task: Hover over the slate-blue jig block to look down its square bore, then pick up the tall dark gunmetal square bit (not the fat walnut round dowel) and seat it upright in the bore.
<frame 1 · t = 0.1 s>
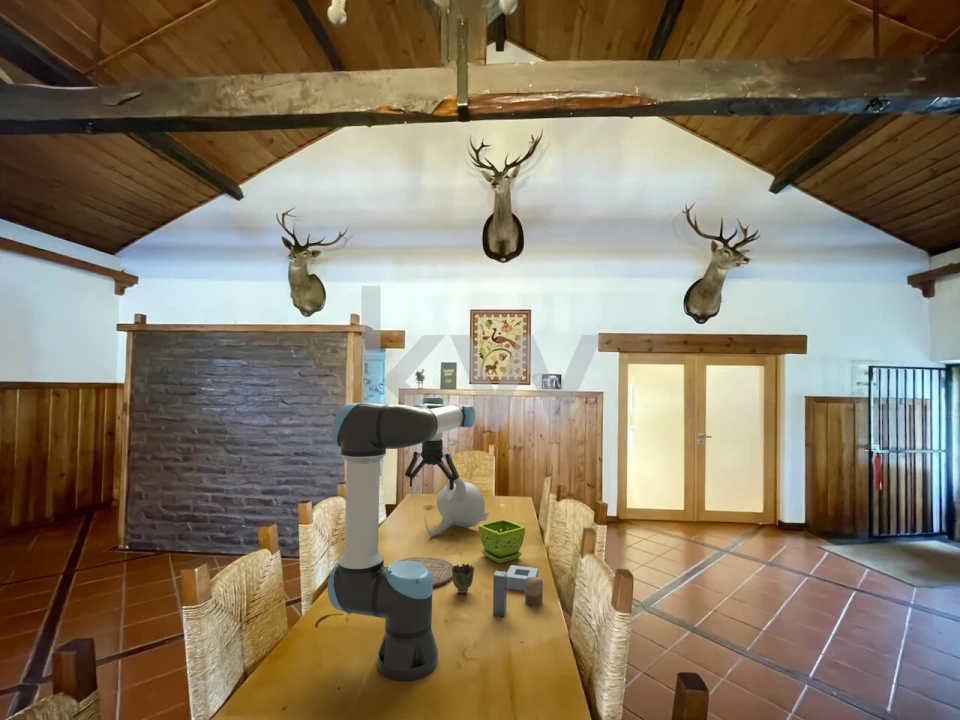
hand: (431, 497, 168), 28 cm above the table, fingers open, 13 cm apart
trivet: (420, 575, 168), on the table
ornate candle holder: (462, 592, 154), on the table
square bit: (499, 613, 141), on the table
flower pot: (501, 558, 185), on the table
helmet: (458, 531, 216), on the table
bore block: (521, 583, 161), on the table
round dowel: (533, 602, 148), on the table
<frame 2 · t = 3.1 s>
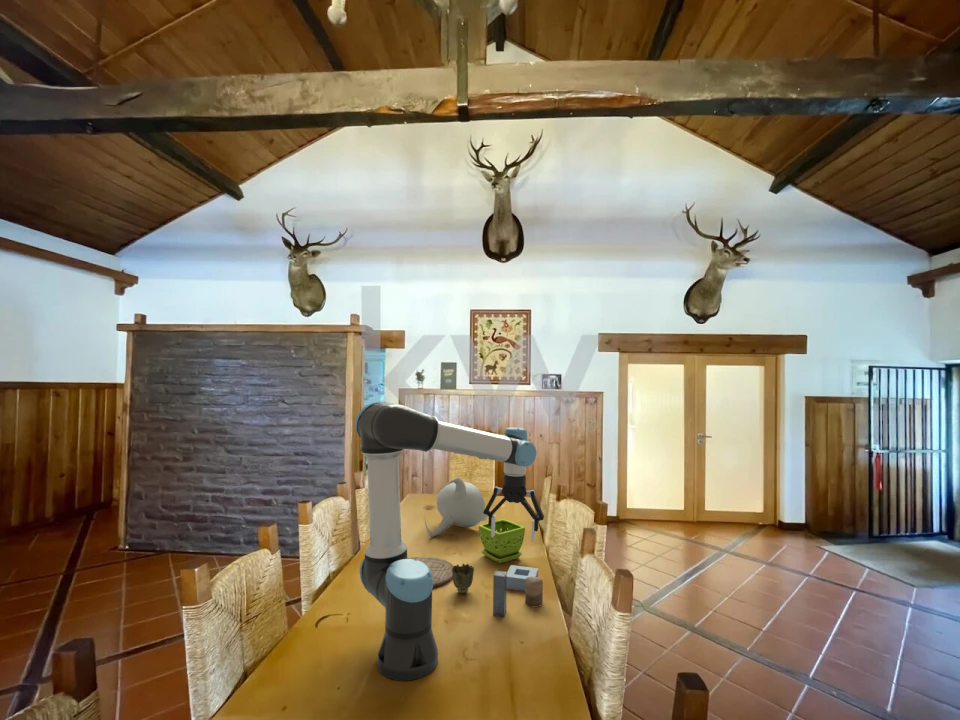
hand: (512, 538, 154), 18 cm above the table, fingers open, 13 cm apart
nothing on the table moved.
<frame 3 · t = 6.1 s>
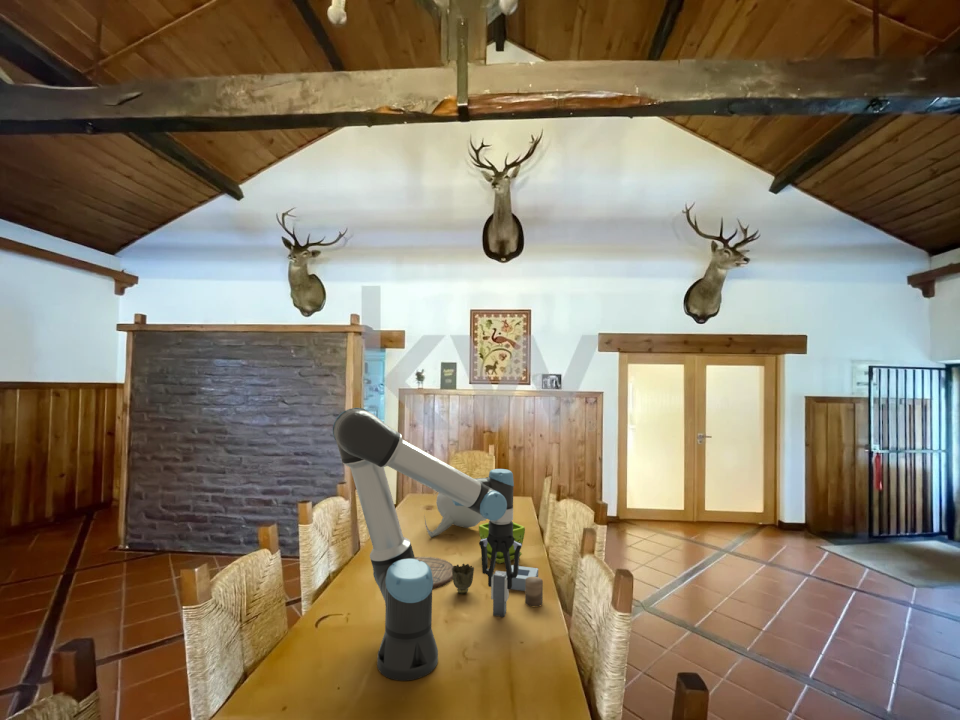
hand: (499, 598, 141), 5 cm above the table, fingers closed on square bit, 3 cm apart
square bit: (499, 613, 141), on the table, touching gripper
everything else where it was.
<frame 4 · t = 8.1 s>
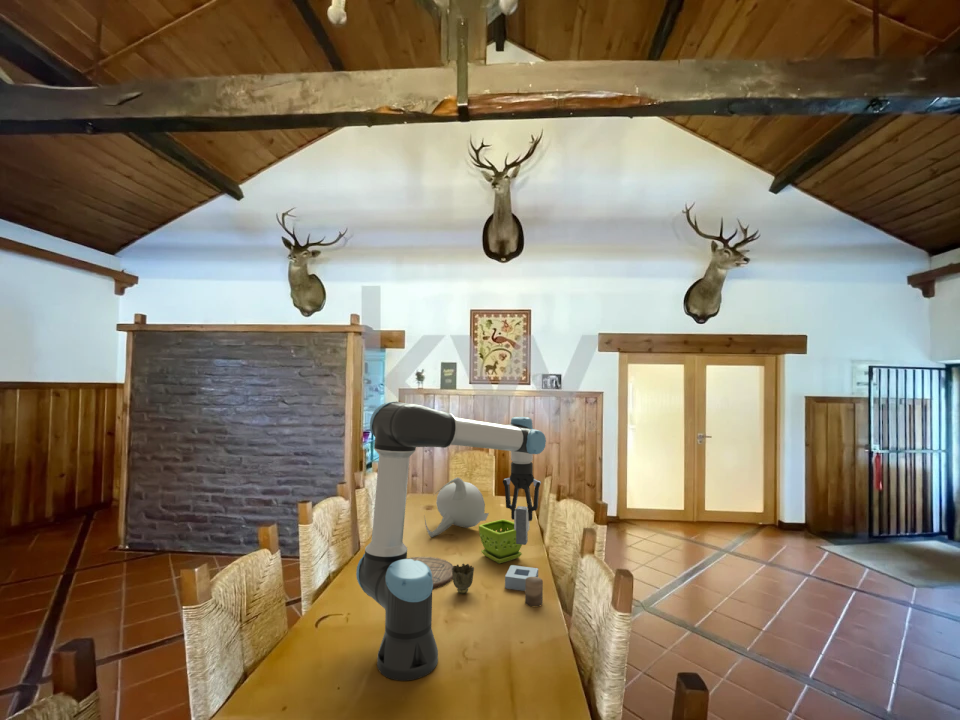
hand: (521, 529, 160), 19 cm above the table, fingers closed on square bit, 3 cm apart
square bit: (521, 542, 160), point 15 cm above the table, touching gripper
everything else where it was.
when the fingers open (6 cm above the table, at t = 10.4 s): square bit drops 1 cm, resting on bore block.
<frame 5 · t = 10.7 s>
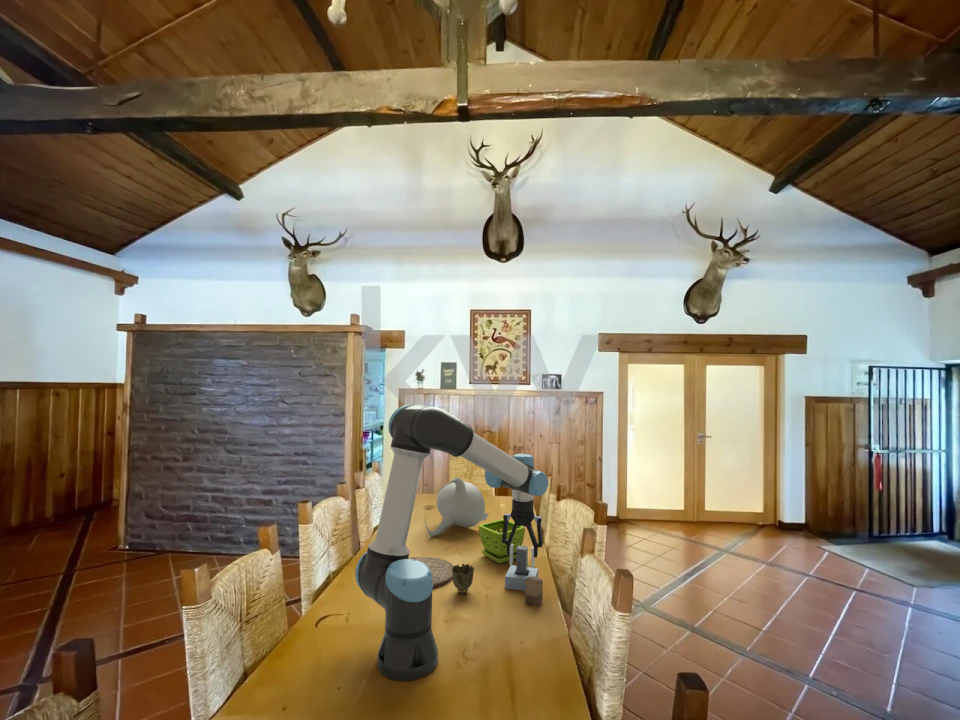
hand: (522, 564, 162), 7 cm above the table, fingers open, 7 cm apart
square bit: (521, 582, 161), resting on bore block
everything else where it was.
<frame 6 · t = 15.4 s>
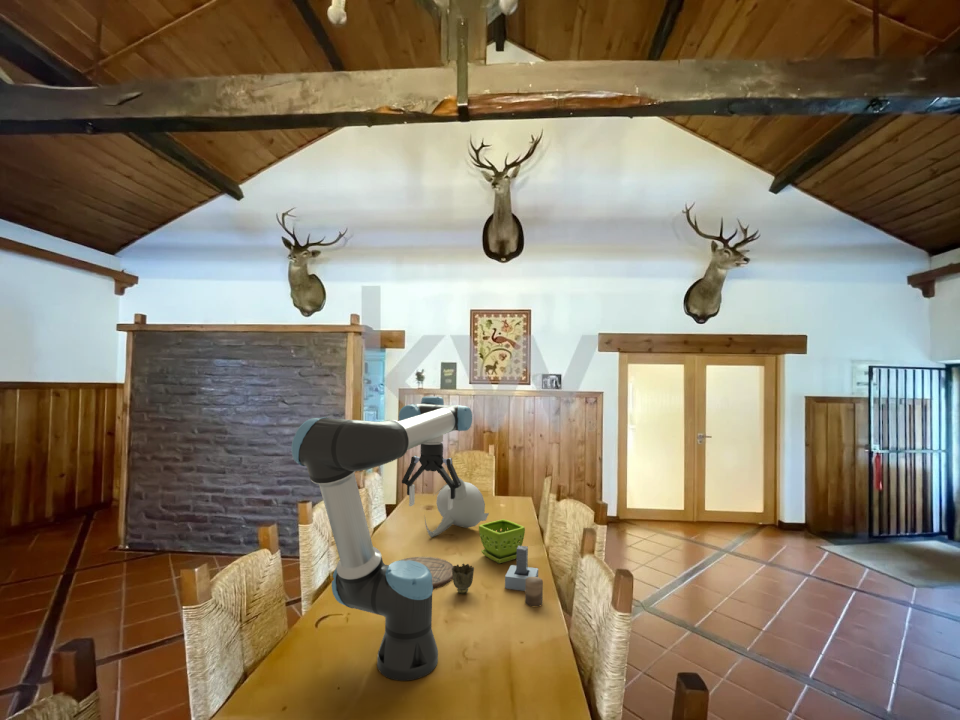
hand: (430, 507, 153), 29 cm above the table, fingers open, 13 cm apart
nothing on the table moved.
at the end: square bit 0.0 cm off-centre on the bore block, point 0.5 cm above the bore block's base; square bit tilted 0°; the gripper is holding nothing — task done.
